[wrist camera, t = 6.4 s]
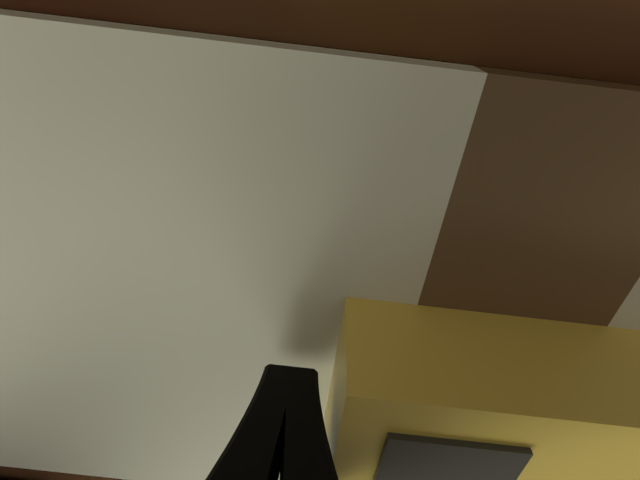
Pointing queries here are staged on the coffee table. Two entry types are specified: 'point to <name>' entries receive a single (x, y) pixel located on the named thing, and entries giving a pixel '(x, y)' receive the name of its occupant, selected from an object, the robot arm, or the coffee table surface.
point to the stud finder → (481, 396)
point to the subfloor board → (272, 222)
